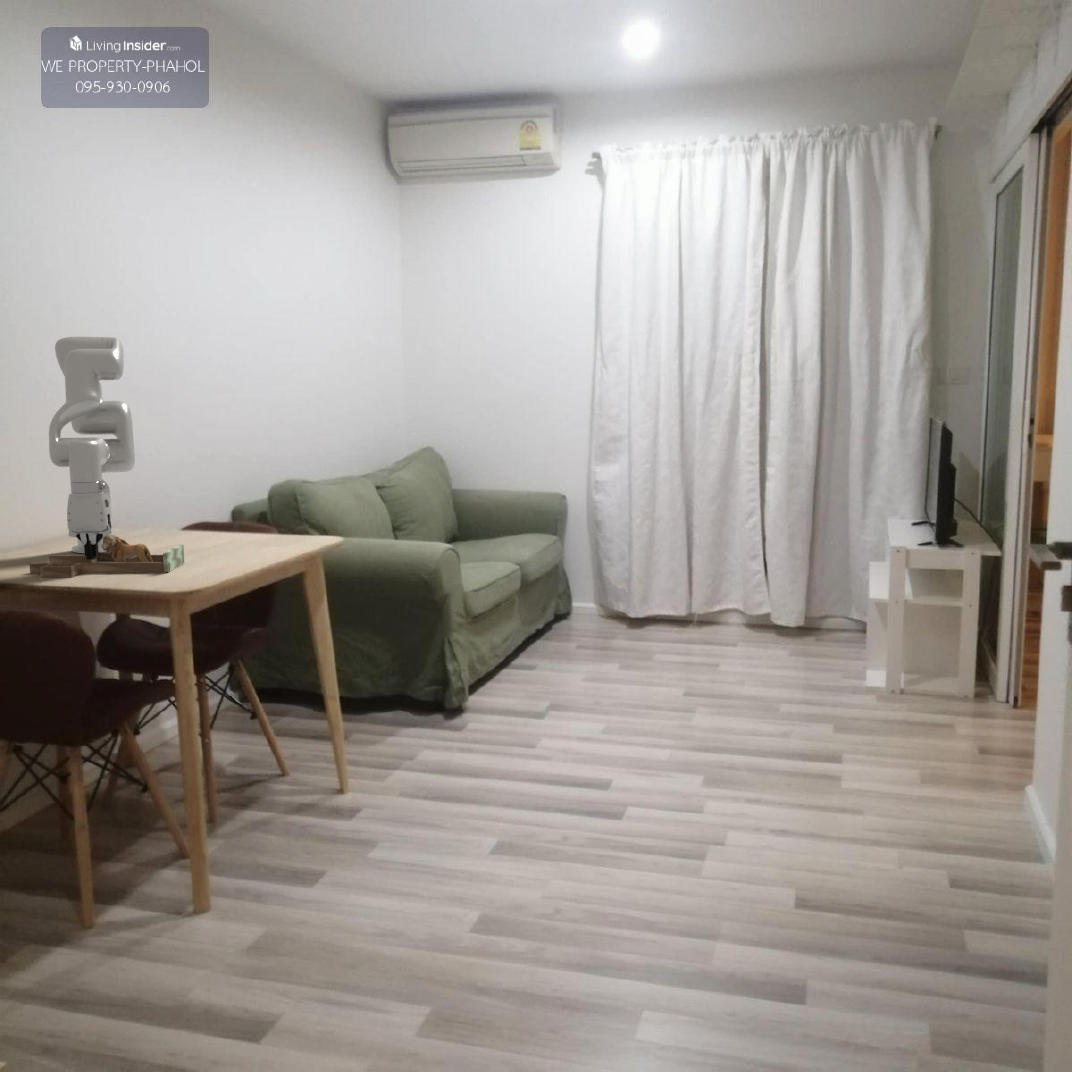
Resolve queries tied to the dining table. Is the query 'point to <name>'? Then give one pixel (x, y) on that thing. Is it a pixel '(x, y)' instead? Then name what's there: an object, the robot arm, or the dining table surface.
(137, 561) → the wooden walled channel
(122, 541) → the lion figurine
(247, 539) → the dining table surface
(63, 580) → the dining table surface
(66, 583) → the dining table surface
